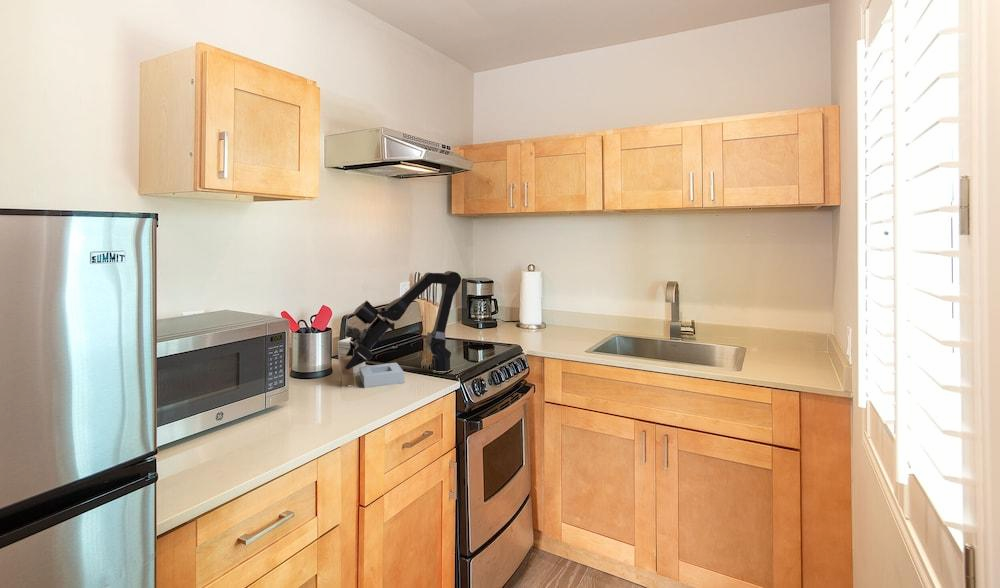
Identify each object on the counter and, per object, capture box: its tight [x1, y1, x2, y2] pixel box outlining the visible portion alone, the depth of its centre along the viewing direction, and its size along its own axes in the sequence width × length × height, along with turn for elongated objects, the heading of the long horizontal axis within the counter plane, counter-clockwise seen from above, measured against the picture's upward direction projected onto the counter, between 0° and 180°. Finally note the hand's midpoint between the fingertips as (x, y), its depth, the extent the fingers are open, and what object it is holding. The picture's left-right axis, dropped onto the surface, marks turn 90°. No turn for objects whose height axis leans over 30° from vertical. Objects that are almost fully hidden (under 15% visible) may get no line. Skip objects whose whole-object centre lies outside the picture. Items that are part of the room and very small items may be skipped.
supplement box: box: [337, 337, 366, 375], centre depth 189 cm, size 7×7×13 cm
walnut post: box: [340, 356, 355, 387], centre depth 172 cm, size 4×4×10 cm
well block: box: [358, 362, 405, 389], centre depth 177 cm, size 14×14×4 cm
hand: (344, 365), depth 172 cm, fingers open, 9 cm apart
